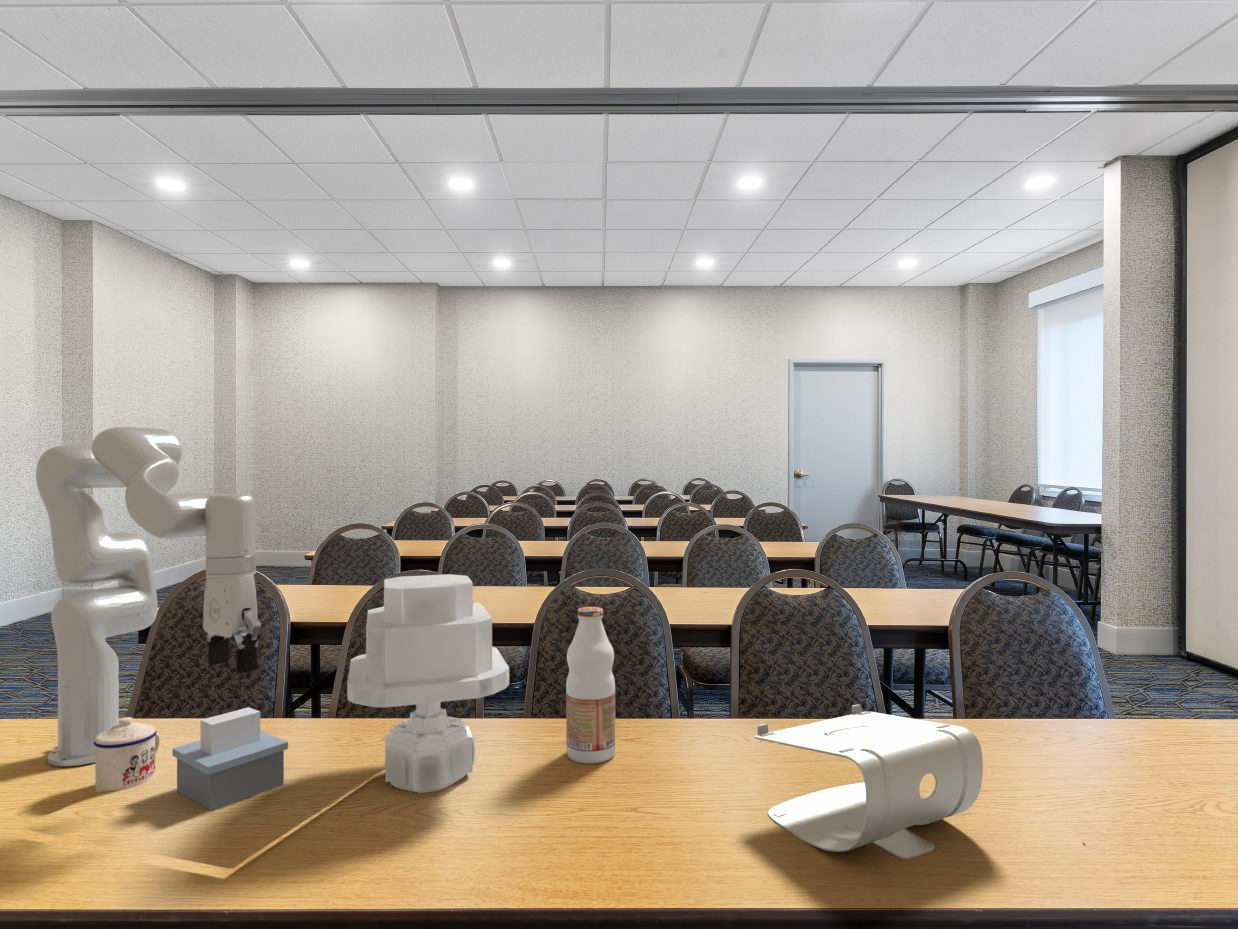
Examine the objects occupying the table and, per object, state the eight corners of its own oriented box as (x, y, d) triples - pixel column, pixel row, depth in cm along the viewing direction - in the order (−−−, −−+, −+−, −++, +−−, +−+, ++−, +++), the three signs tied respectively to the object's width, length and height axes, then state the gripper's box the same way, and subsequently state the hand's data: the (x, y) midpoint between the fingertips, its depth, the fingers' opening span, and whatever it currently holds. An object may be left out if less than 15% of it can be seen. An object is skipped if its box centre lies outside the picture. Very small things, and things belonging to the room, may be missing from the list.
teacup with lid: (128, 798, 121) (128, 728, 121) (79, 795, 123) (80, 726, 123) (180, 769, 133) (180, 705, 133) (135, 766, 134) (135, 703, 134)
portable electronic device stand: (862, 883, 96) (861, 766, 96) (750, 809, 116) (750, 713, 117) (988, 837, 107) (987, 732, 107) (866, 777, 128) (865, 690, 128)
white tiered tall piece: (351, 758, 138) (351, 574, 138) (493, 741, 146) (492, 567, 146) (344, 824, 112) (344, 598, 112) (516, 798, 121) (515, 588, 121)
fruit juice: (570, 767, 133) (569, 614, 134) (563, 747, 143) (562, 605, 143) (620, 762, 135) (619, 612, 136) (609, 743, 145) (609, 603, 145)
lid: (172, 755, 122) (172, 718, 122) (250, 732, 132) (250, 698, 132) (208, 774, 114) (208, 735, 114) (287, 749, 124) (287, 712, 124)
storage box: (177, 797, 122) (177, 755, 122) (248, 773, 131) (248, 734, 131) (210, 817, 115) (210, 773, 115) (283, 790, 124) (283, 749, 124)
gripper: (184, 566, 125) (185, 665, 125) (233, 572, 115) (234, 680, 115) (229, 561, 131) (230, 656, 131) (279, 567, 121) (280, 669, 121)
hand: (232, 667), depth 123 cm, fingers open, 9 cm apart
